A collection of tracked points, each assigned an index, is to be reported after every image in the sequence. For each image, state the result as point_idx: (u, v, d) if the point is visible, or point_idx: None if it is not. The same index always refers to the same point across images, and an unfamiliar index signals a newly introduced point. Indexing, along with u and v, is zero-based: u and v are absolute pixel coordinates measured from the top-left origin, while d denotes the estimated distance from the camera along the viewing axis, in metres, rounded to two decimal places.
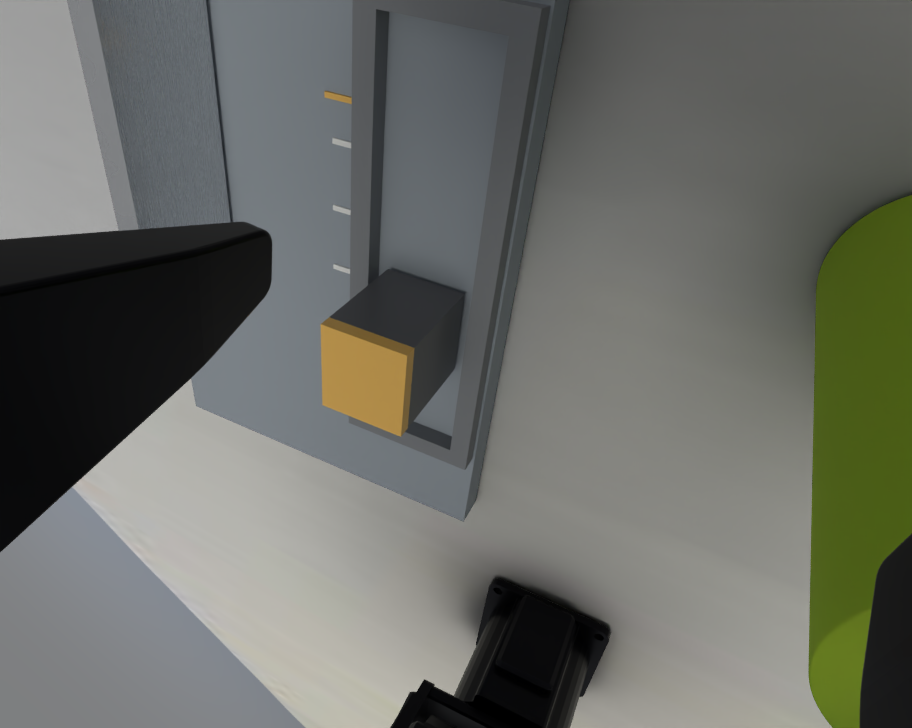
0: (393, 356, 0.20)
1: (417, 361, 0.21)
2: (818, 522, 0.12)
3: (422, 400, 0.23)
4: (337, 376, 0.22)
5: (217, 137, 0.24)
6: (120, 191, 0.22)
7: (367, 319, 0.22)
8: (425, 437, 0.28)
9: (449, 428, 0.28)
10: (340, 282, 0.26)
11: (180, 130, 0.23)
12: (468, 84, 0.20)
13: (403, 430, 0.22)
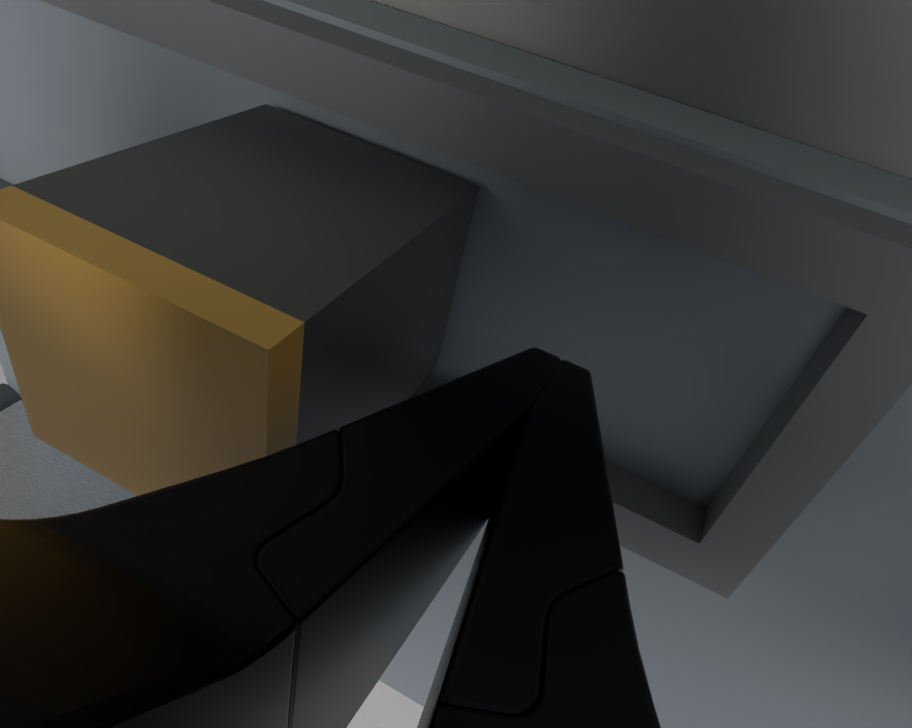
0: None
1: (98, 202, 0.07)
2: None
3: (328, 255, 0.07)
4: (147, 469, 0.07)
5: None
6: None
7: None
8: (805, 391, 0.08)
9: (809, 303, 0.08)
10: None
11: None
12: None
13: (268, 332, 0.06)
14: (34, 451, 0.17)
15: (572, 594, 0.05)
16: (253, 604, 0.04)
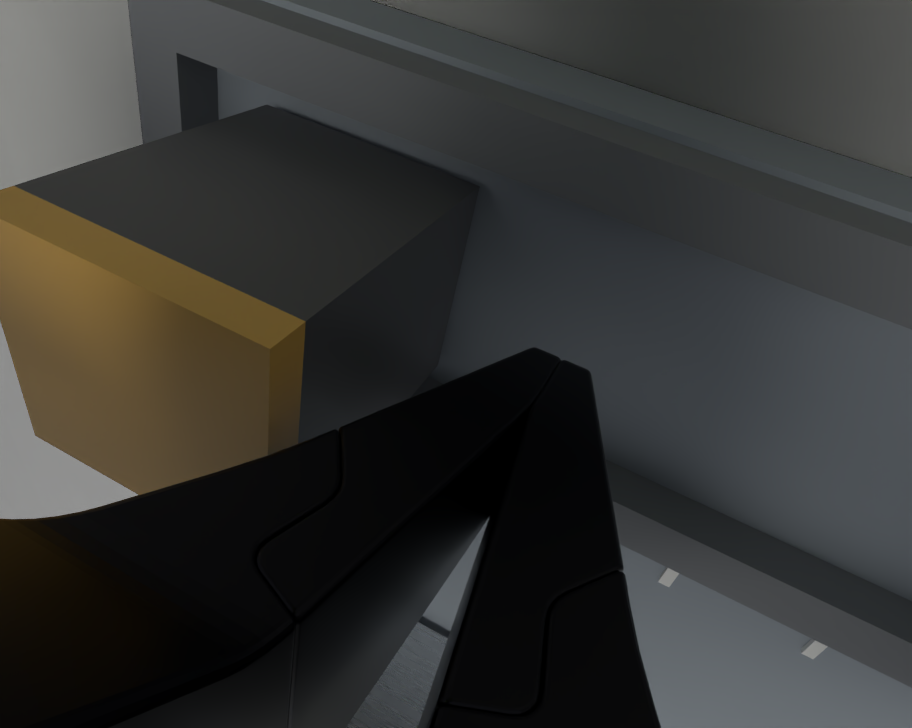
0: None
1: (99, 201, 0.07)
2: None
3: (329, 254, 0.07)
4: (149, 468, 0.07)
5: None
6: None
7: None
8: None
9: None
10: (709, 591, 0.11)
11: None
12: None
13: (270, 331, 0.06)
14: None
15: (572, 594, 0.05)
16: (253, 604, 0.04)
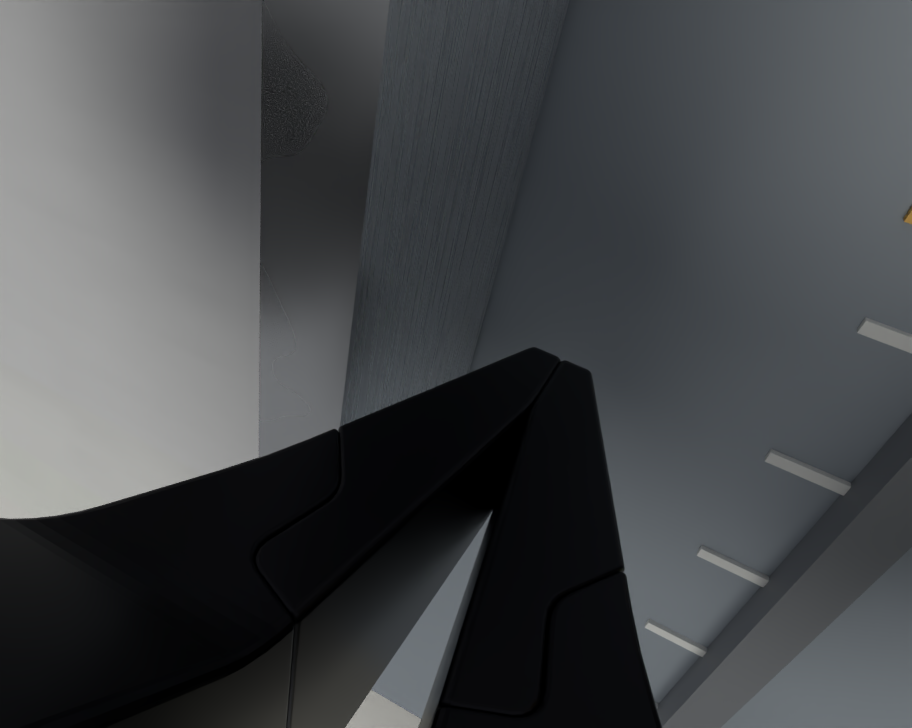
0: None
1: None
2: None
3: None
4: None
5: (495, 260, 0.10)
6: None
7: None
8: None
9: None
10: (697, 577, 0.12)
11: (456, 267, 0.08)
12: None
13: None
14: None
15: (573, 595, 0.05)
16: (252, 606, 0.04)
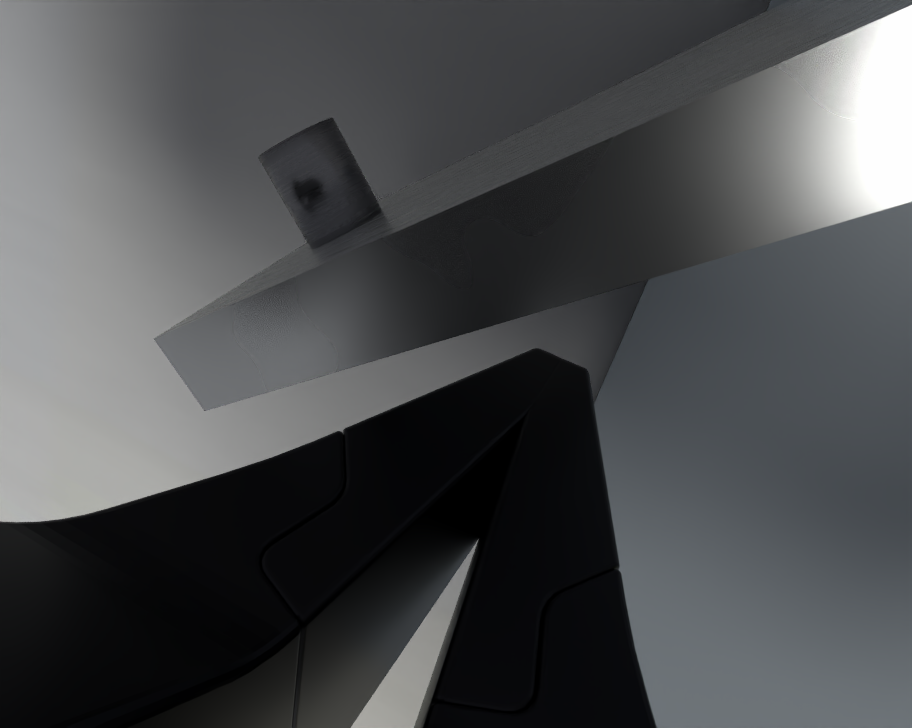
0: None
1: None
2: None
3: None
4: None
5: None
6: (381, 299, 0.06)
7: None
8: None
9: None
10: None
11: None
12: None
13: None
14: None
15: (568, 592, 0.05)
16: (258, 608, 0.04)
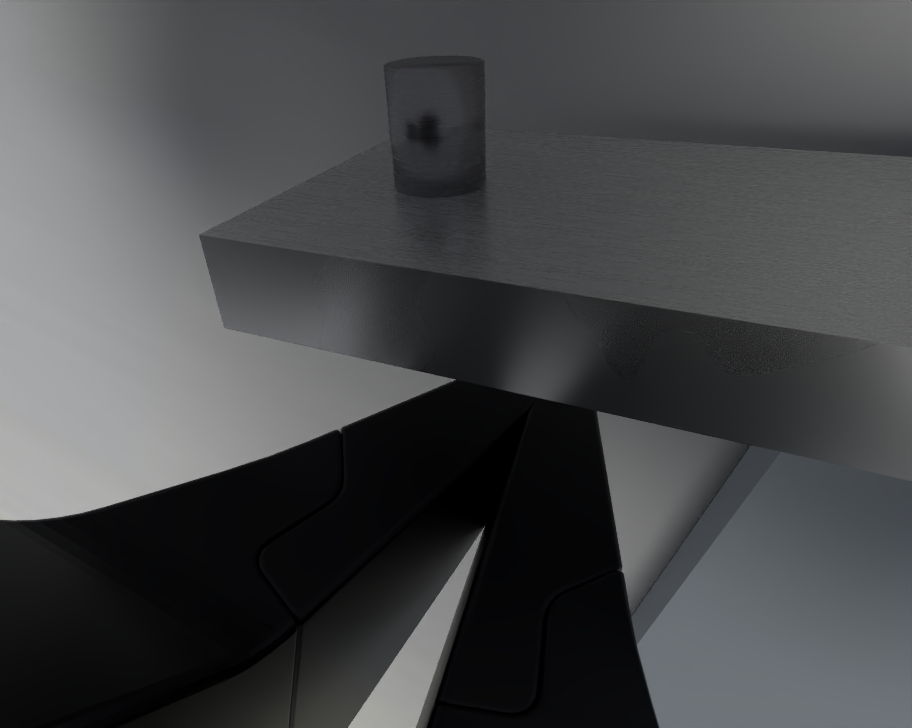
0: None
1: None
2: None
3: None
4: None
5: None
6: (521, 340, 0.05)
7: None
8: None
9: None
10: None
11: None
12: None
13: None
14: None
15: (570, 593, 0.05)
16: (255, 607, 0.04)
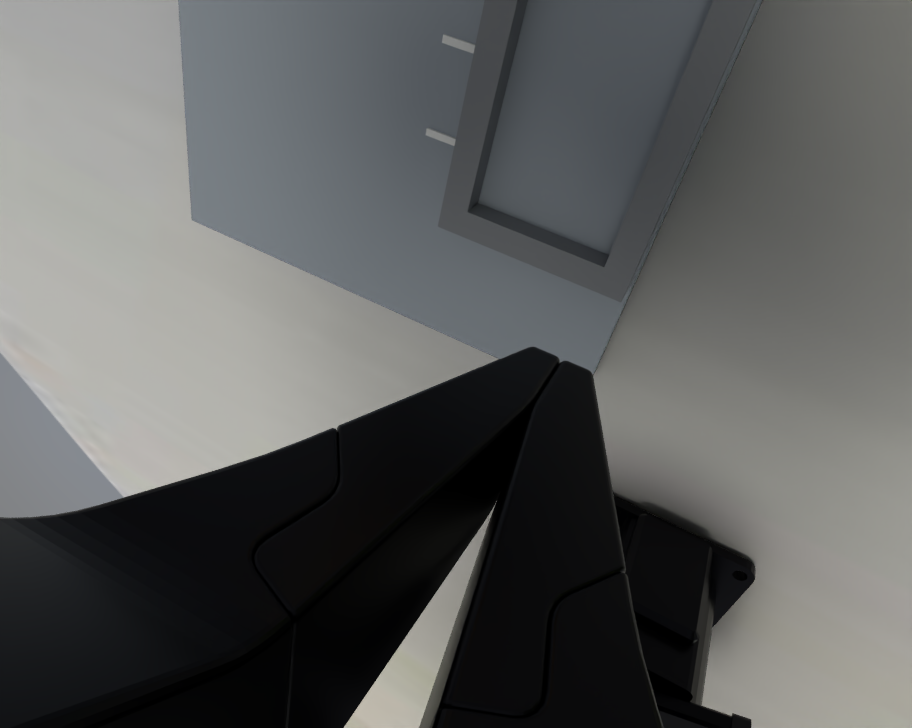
0: None
1: None
2: None
3: None
4: None
5: None
6: None
7: None
8: (563, 248, 0.18)
9: (600, 238, 0.18)
10: None
11: None
12: None
13: None
14: None
15: (574, 595, 0.05)
16: (250, 604, 0.04)
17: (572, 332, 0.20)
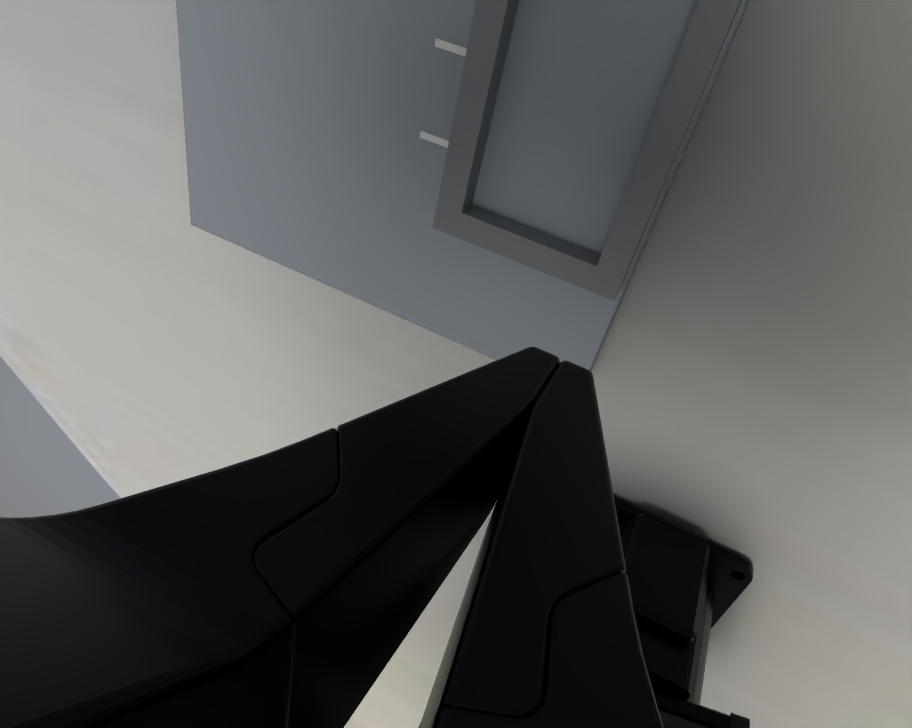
0: None
1: None
2: None
3: None
4: None
5: None
6: None
7: None
8: (556, 247, 0.18)
9: (592, 237, 0.18)
10: None
11: None
12: None
13: None
14: None
15: (574, 595, 0.05)
16: (252, 604, 0.04)
17: (567, 331, 0.20)
